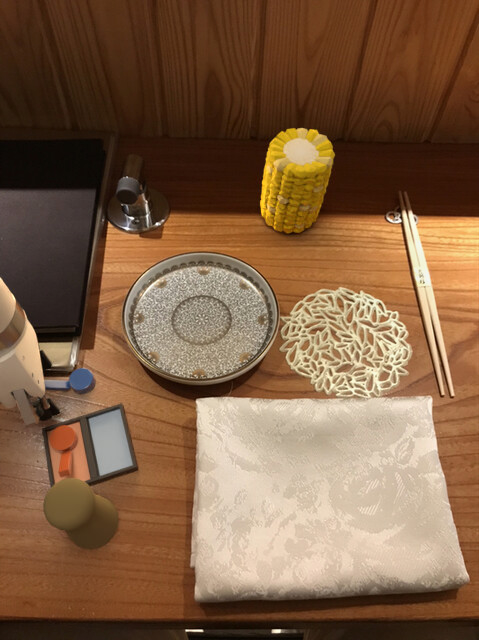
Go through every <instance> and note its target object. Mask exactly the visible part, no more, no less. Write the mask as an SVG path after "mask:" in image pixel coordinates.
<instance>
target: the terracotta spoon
mask: <svg viewBox="0 0 479 640" xmlns="http://www.w3.org/2000/svg"><path fill="white" fill-rule="evenodd" d="M77 443H78V435H77V433H76V432H75V431H74V430H73V429H72V428H71V427H70V426H66V425H63V426H59V427H57V428H56V429H54V430H53V432H52V433H51V435H50V445H51V446H52V447H53V448H54V449H55V450H56V451H57V452H59V453H61V459H60V465H59V471H58V473H59V475H60V477H64V476H67V475H70V472H71V464H72V456H73V455H72V452H71V451H72V450H73V449H74V448H75V447H76V445H77Z"/></svg>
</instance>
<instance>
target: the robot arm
mask: <svg viewBox="0 0 479 640" xmlns="http://www.w3.org/2000/svg"><path fill="white" fill-rule="evenodd" d="M15 297H16V296H14V294H13V293H12V292H11V290H10V289H9V287H8V286H7V285H6V283H5V282H4V281H3V279H2V277H0V403H1V405H3V407H5V408H7V409H11V408H15V407H16V405H17V407H18V410H19V412H20V415H21V417H22V418H21V419H22V420H23V423H24V425H25V427H30V426H34V425H36V424H38V423H39V422H47V421H50V420H52V419H53V417H56V416H58V415H60V414H61V410H60V409H61V408H59V407H58V405H57V404H56V403H55V402H54V401H53V400H52V398H50V397H47V396H46V391H45V384H44V380H45V377H44V372H43V371H46V370H49V369H52V367H53V363H52V361H51V359H50V358H49V357H48V356H47V354H46V353H45V351H44V349H41V346H40V344H39V340H38V337H37V333H36V332H35V331H36V330H35V329H34V327H33V325H32V324H31V322H30V321H29V319H28V317H27V314H26V312H25V310H24V309H23V307H22V306H21V304H20V303H19V302H18V300H17V298H15ZM51 366H52V367H51ZM32 398H38V399H36V400H31V399H32Z"/></svg>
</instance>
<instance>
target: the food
mask: <svg viewBox="0 0 479 640" xmlns="http://www.w3.org/2000/svg"><path fill="white" fill-rule="evenodd" d="M333 148H334V147H333V144H332V142H331V141H330V140H329V139H328V137H327V135H325V134H320V133H319V131H318V129H311V128H310V129H309V130H308V129H307V128H303V127H300V128H297V129H296V128H295V127H293V128H287V129H286V131H283V130H281V131H280V132H279V133H278V134H276V136H275V137H274V138H273V139H272V140H271V141H270V142H269V146H268V148H267V150H268V151H266V157H265V163H264V164H265V165H264V168H263V175H262V178H263V179H262V181H261V195H260V199H261V200H260V201H259V206H260V213H261V217H262V218H263V220H265V223H266V225H267V226H268V227H272V228H273V229H274V231H275V232H279V233H282V232H284V233H285V234H287V235H288V234H291V233H295V234H300V233H301V232H303V231H305V229H309V228H311V227H312V225H313V223H316V221H317V219H318V217H319V213H320V210H321V207H322V204H323V203H324V196H325V194H326V193H327V187H329V181H330V179H329V178H330V177H331V173H332V171H331V170H332V169H333V165H334V158H335V156H336V154H335V152H334V150H333Z"/></svg>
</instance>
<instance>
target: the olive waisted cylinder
mask: <svg viewBox="0 0 479 640" xmlns="http://www.w3.org/2000/svg"><path fill="white" fill-rule="evenodd" d="M42 505H43V507H42V508H43V514H44V517H45V519H46V522H48V523H49V524H50V525H51V526H52V527H54V528H55V529H58V530H59V531H64V532H65V533H66V535H67V536H68V537H69V539H70V540H71V542H73V544H75V546H77V547H79V548H81V549H84V550H95V549H100V548H101V547H103V546H105V545H107V544H108V543H109V542H110V541H111V540H112V539H113V538H114V536H115V534H116V532H117V531H118V527H119V521H120V520H119V512H118V509H117V507H116V505H115V503H113V502H112V501H111V500H110V499H109V498H106V497H104V496H102V495H99V494H96V493H95V492H94V490H93V488H92V487H91V486H89V485H88V484H87V483H86V482H84V481H82V480H80V479H75V478H68V479H63V480H61V481H59V482H57V483H55V484H54V485H53V486H52V487H51V486H50V487H49V489H48V491H47V493H46V495H45V496H44V500H43V503H42Z"/></svg>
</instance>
